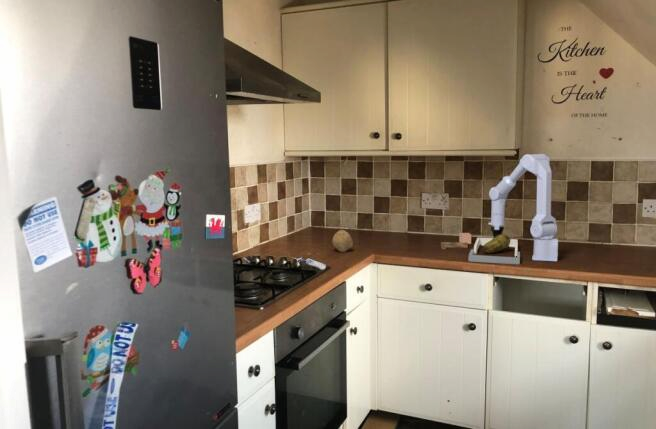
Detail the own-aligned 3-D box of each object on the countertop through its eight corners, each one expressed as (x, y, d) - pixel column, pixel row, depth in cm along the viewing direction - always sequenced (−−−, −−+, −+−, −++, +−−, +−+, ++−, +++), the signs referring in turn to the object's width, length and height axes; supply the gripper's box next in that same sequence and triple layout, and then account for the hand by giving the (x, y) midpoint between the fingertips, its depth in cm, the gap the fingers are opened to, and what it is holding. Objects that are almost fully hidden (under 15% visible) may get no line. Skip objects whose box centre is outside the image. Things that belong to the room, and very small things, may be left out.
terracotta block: (468, 241, 269) (468, 232, 268) (471, 243, 264) (471, 234, 264) (459, 242, 269) (459, 233, 268) (461, 243, 264) (461, 234, 264)
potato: (478, 251, 248) (478, 233, 246) (506, 250, 248) (507, 232, 247) (484, 255, 239) (485, 236, 238) (513, 254, 240) (514, 236, 239)
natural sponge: (328, 251, 251) (328, 229, 250) (344, 248, 256) (344, 227, 254) (339, 254, 243) (339, 232, 242) (355, 252, 248) (355, 230, 247)
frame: (519, 257, 234) (519, 251, 233) (519, 264, 221) (519, 258, 221) (471, 254, 240) (471, 249, 240) (468, 261, 228) (468, 255, 228)
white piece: (517, 246, 256) (517, 239, 255) (517, 256, 235) (517, 248, 235) (477, 244, 261) (477, 237, 261) (473, 254, 241) (473, 246, 241)
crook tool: (467, 246, 258) (467, 242, 257) (468, 249, 252) (468, 245, 251) (440, 246, 259) (441, 242, 259) (442, 249, 253) (442, 244, 253)
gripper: (489, 211, 259) (488, 239, 261) (487, 215, 246) (486, 245, 248) (505, 211, 257) (504, 240, 259) (504, 216, 243) (503, 246, 245)
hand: (496, 242), depth 253 cm, fingers closed
